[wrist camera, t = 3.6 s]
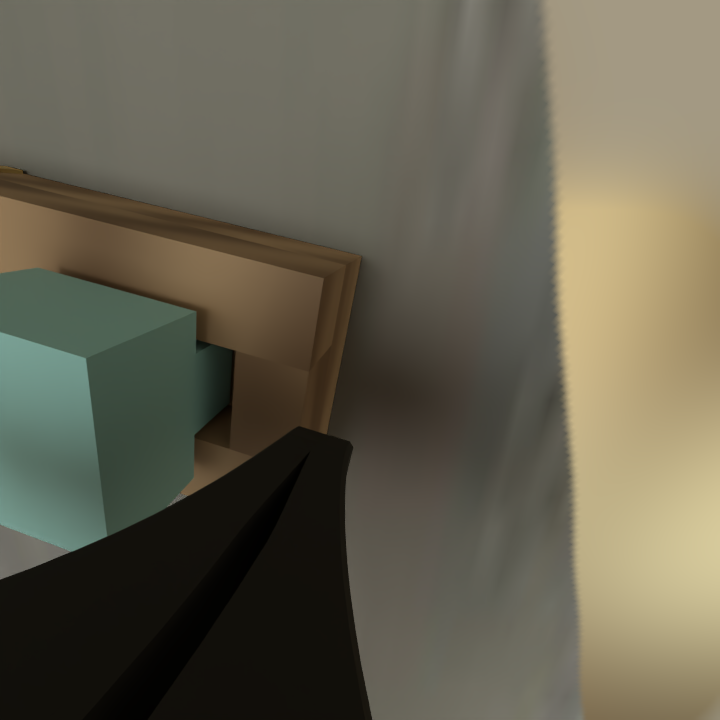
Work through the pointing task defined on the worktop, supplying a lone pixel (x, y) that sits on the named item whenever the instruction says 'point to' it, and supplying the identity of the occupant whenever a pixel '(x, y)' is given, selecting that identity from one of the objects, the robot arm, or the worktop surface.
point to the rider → (97, 405)
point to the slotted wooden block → (203, 299)
